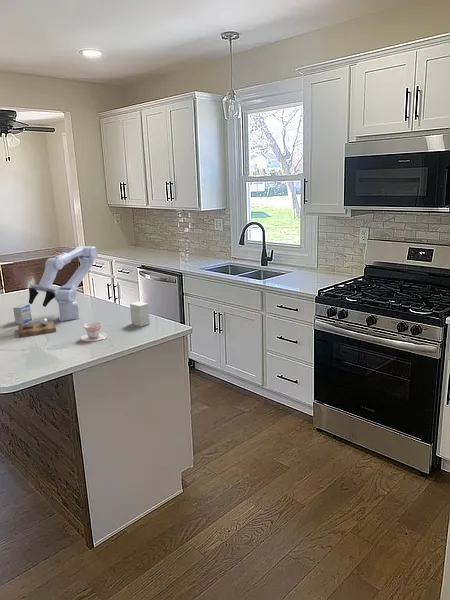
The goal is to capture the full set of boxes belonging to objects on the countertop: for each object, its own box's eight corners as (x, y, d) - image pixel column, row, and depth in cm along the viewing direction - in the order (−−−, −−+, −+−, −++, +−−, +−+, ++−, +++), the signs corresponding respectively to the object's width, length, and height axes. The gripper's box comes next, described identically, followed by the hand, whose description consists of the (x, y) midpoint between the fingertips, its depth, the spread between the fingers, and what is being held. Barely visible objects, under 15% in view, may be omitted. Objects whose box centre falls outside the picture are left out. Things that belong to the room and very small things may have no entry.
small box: (150, 324, 230) (148, 303, 227) (141, 326, 226) (139, 305, 223) (140, 321, 235) (138, 301, 232) (131, 323, 231) (129, 303, 228)
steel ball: (47, 323, 228) (46, 317, 227) (48, 325, 225) (47, 318, 224) (40, 325, 226) (39, 318, 226) (40, 326, 223) (40, 319, 222)
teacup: (79, 335, 215) (78, 323, 213) (106, 332, 219) (104, 319, 217) (81, 343, 204) (80, 330, 203) (109, 339, 208) (108, 326, 207)
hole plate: (53, 324, 234) (52, 320, 234) (56, 331, 222) (55, 327, 221) (18, 329, 227) (18, 325, 227) (20, 337, 215) (19, 333, 215)
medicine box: (22, 324, 236) (20, 307, 234) (15, 324, 237) (12, 307, 235) (32, 319, 243) (30, 303, 241) (24, 319, 244) (22, 303, 242)
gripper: (30, 273, 227) (19, 298, 222) (56, 278, 224) (46, 303, 219) (37, 280, 233) (27, 304, 228) (63, 284, 230) (53, 309, 225)
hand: (37, 304), depth 224 cm, fingers open, 7 cm apart
